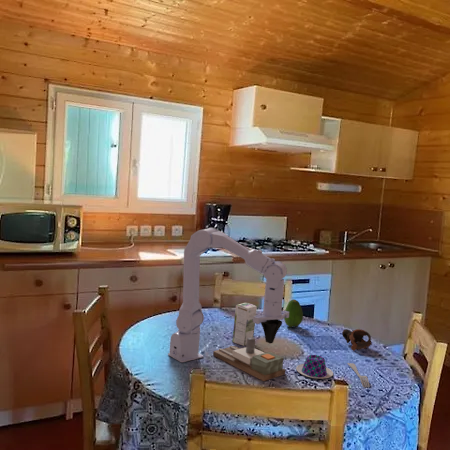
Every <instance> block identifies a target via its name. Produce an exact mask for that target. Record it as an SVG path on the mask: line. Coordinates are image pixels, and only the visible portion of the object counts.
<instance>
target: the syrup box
mask: <svg viewBox="0 0 450 450" xmlns="http://www.w3.org/2000/svg"><path fill="white" fill-rule="evenodd" d="M257 307H258V306H256V305H254V304H252V303H249V302H243V303H240V304H236V305H235V310H234V320H233V330H232V340H231V341H232V343H235V344H237V345H240V346H243V347H245V346H246V344H247V338H248V337H252V338H255V337H254V336H255V328H256V327H255V326H256V323H253V318H254V316H257V310H258V309H257Z"/></svg>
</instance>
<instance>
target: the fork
mask: <svg viewBox="0 0 450 450" xmlns="http://www.w3.org/2000/svg"><path fill="white" fill-rule="evenodd" d="M346 364H347V365H348V367H350V368H351V369H352V370H353V371H354V373H355V374H356V376H357V377H358V378H359V380H360V382H361V385H362V388H363V387H364V388H365V387H366V388H367V387H368V388H369V387H370V383H369V382H370V381H369V378H368V376H366V375H361V374H360V373H359V371H358V368H357V366H356V364H355V363H353V362H352V363H351V362H347V363H346ZM370 388H371V387H370Z"/></svg>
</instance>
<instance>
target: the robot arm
mask: <svg viewBox="0 0 450 450" xmlns="http://www.w3.org/2000/svg"><path fill="white" fill-rule="evenodd" d="M219 248H220V249H222V248H223V249H224V250H226V251H228V252H230V253H233V254H234V255H236V256H237V257H240V258H241V259H242V260H244V262H245V265H246V266H248V267H250V268H251V269H253V270H254V271H256V272H257V273H259V274H260V275H263V276H264V278H265V280H266V282H265V286H264V298H263V310H262V312H261V313H259V314H256V316H254V318H253V323H255V325H260V324H261V327H262V329H263V332H264V333H263V334H264V338H265V342H266V343H268V344H274V341H275V338H276V335H277V334H278V333H277V332H278V331H279V329H280V328H281V327H282V325H283V321H282V320H283V319H284V318H289V312H288V311H285V309H284V310H282V309H283V298H284V290H285V289H284V285H285V277H286V275H287V274H288V269H287V267H286V265H285V264H284V263H283V262H282V261H280V260H276V259H275V258H273V257H272V258H271V257H269V256H267V255H266V254H264V253H263V250H261V249H251V250H250V249H249V248H247V247H245V246H244V245H242V244H240V242H237V241H236V240H235V239H233V238H232V237H230V236H229V235H227V234H226V233H224V232H223V231H221V230H218V229H217V228H214V227H208V228H205V229H199V230H197V231H195V232H194V233H192V234H191V235H190V239H189V240H188V242H187V244H186V246H185V247H184V250H183V276H182V277H183V281H182V282H183V283H182V290H183V291H182V304H181V306H180V308H179V310H178V316H177V318H176V321H175V324H176V325H175V326H176V328H177V329H178V330H176V332H174V333H172V334H171V336H170V339H169V340H170V341H169V342H170V343H169V353H167V355H168V356H170V357H171V358H173V359H174V360H176V361H178V362H180V363H185V362H189V361H193V360H197V359H201V358H205V356H204V355H203V354H201V353H199V350H200V337H201V336H200V335H201V325H202V324H203V322H204V321H205V316H204V313H203V311H202V304H201V302H200V271H201V270H200V267H201V266H200V265H201V255H203V254H204V253H205V252H206V251H208V250H209V249H219Z"/></svg>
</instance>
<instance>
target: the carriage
mask: <svg viewBox="0 0 450 450" xmlns="http://www.w3.org/2000/svg"><path fill="white" fill-rule="evenodd" d="M245 346H246V347H245ZM245 346H244V347H242V348H240V349H237V350H233V357H235V358H237V359H239V360H241V361H243V362H245V363H247V364H249V365H250V364H252V357H253V356H256V355H259V354H263V353H265V352H263V351H262V350H259V349H257V348H256V338H255V337H253V338H252V337H248V338H247V344H246V345H245Z"/></svg>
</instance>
